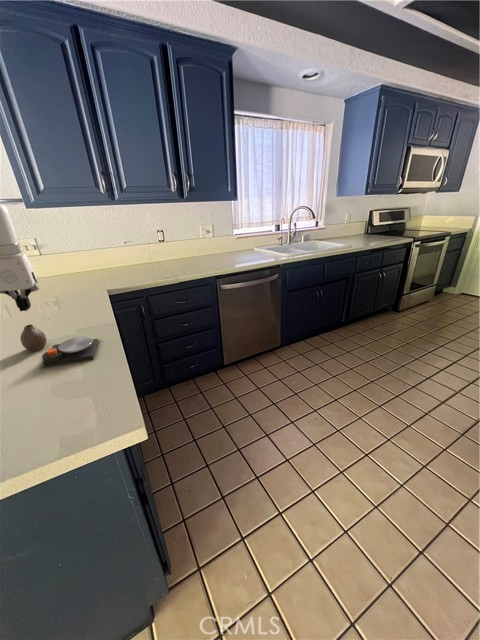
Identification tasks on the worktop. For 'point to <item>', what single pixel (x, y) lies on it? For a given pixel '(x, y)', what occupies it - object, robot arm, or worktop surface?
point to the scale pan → (75, 344)
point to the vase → (33, 338)
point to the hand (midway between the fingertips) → (25, 309)
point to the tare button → (52, 352)
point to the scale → (70, 355)
